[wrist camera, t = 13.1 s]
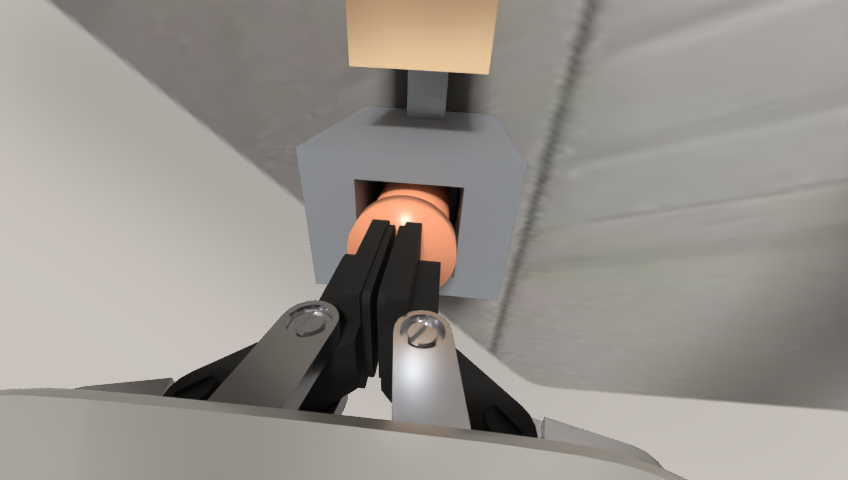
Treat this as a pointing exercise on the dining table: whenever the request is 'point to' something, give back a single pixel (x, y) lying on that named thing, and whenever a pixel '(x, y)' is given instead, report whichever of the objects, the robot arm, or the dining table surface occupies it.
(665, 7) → the dining table surface
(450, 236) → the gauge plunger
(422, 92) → the grey slide rail
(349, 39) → the block
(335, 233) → the end cabinet
